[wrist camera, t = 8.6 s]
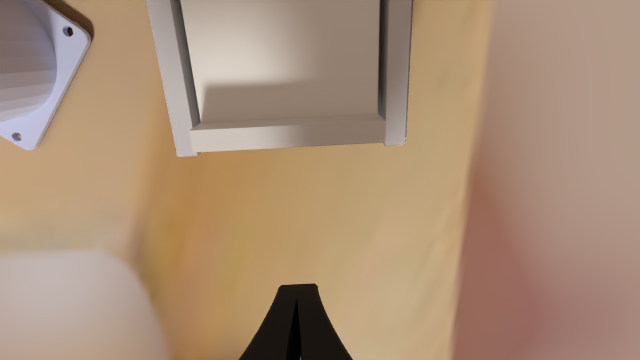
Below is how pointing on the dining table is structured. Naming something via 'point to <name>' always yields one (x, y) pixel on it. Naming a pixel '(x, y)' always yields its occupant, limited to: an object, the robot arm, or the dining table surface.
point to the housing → (182, 88)
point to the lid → (284, 73)
